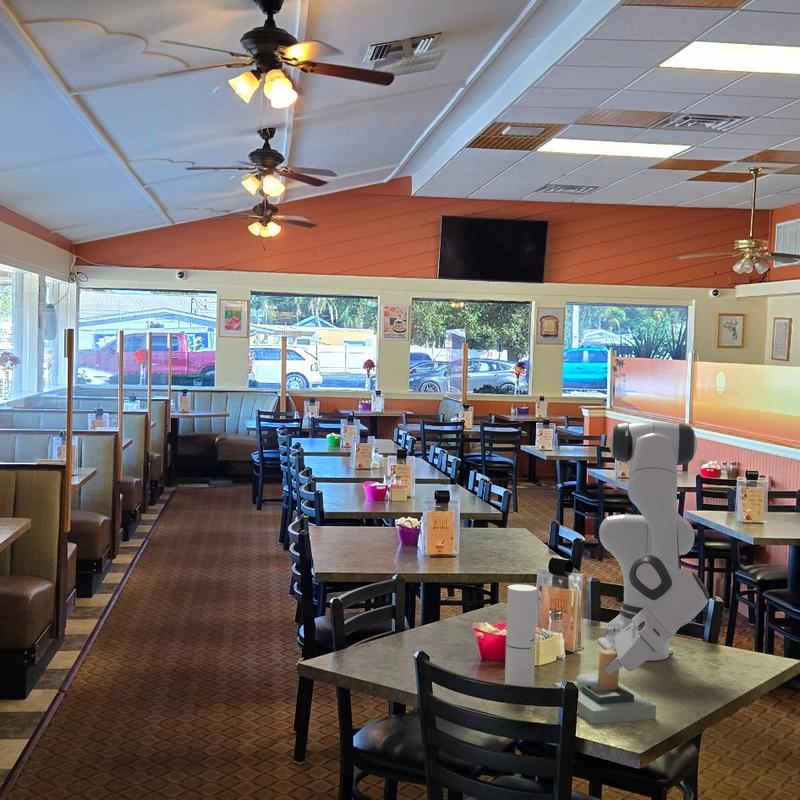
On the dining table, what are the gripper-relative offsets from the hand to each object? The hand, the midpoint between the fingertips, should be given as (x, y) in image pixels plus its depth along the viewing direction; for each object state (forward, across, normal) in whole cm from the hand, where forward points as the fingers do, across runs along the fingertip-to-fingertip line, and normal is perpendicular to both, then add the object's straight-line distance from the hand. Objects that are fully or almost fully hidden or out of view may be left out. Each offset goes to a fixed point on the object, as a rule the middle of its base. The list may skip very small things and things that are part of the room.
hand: (605, 667), depth 230 cm
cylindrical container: (+21, -11, -7) cm, 25 cm away
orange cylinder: (+3, 0, +4) cm, 4 cm away
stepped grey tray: (+7, -2, +7) cm, 10 cm away
